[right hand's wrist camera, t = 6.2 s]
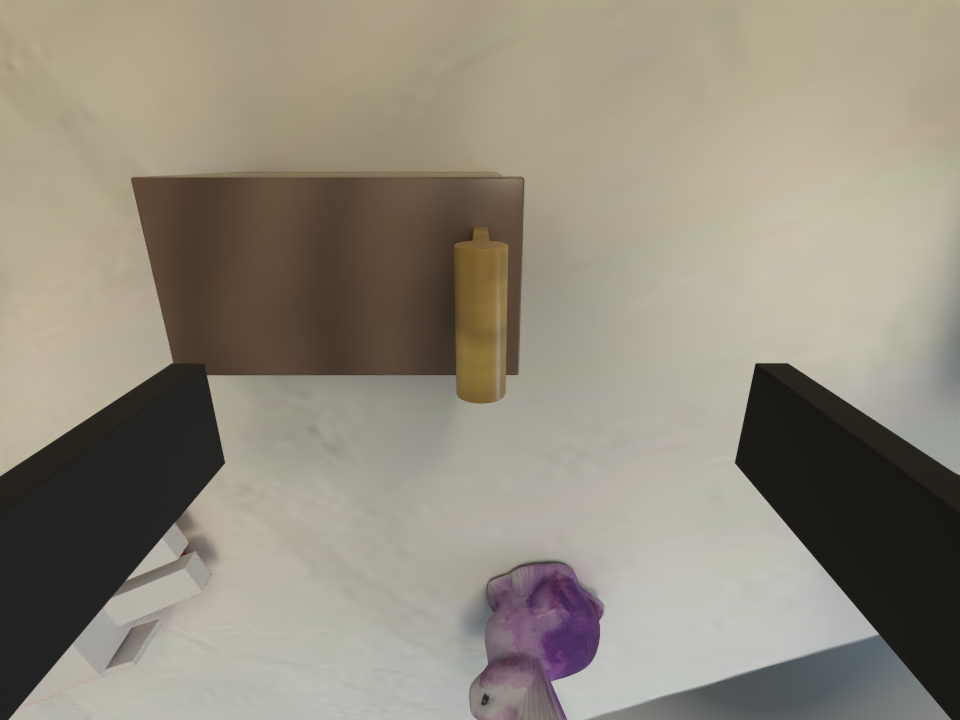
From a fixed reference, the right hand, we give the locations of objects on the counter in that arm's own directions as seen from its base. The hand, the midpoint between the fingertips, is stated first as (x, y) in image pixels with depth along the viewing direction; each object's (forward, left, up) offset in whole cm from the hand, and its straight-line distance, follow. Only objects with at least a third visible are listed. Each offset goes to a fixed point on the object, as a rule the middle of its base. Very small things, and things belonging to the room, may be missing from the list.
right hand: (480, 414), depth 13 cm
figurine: (+26, +21, -27) cm, 43 cm away
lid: (+4, -6, -16) cm, 17 cm away
